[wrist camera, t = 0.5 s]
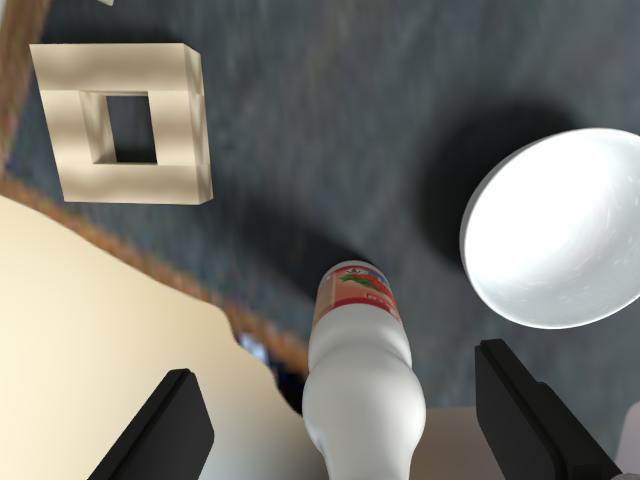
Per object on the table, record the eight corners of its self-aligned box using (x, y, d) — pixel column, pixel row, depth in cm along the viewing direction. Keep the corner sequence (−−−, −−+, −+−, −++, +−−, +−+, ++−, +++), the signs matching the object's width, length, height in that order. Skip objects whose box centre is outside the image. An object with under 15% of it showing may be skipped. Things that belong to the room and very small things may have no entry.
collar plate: (62, 54, 36) (29, 44, 32) (200, 54, 35) (183, 43, 31) (90, 195, 41) (65, 201, 37) (213, 198, 40) (199, 204, 36)
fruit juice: (305, 279, 42) (240, 517, 15) (367, 245, 40) (419, 450, 13) (340, 333, 44) (339, 626, 17) (402, 303, 42) (506, 582, 15)
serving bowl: (475, 323, 42) (500, 356, 36) (418, 180, 37) (434, 188, 31) (644, 262, 38) (706, 287, 32) (605, 94, 34) (669, 82, 27)
